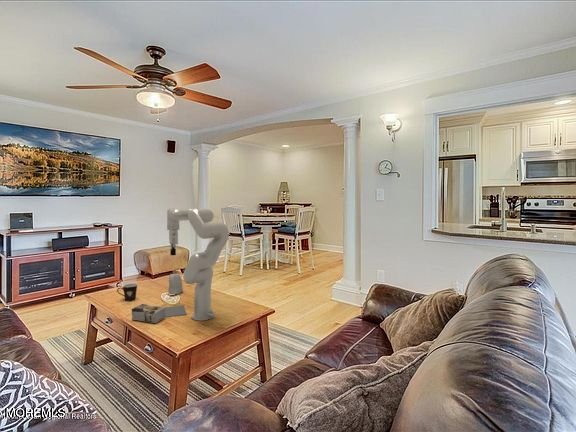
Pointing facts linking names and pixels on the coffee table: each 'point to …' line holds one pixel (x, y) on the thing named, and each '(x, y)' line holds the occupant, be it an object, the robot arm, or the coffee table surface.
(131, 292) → the coffee mug
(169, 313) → the mat
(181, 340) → the coffee table surface
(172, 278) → the decorative stone
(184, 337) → the coffee table surface
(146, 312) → the coffee box
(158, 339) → the coffee table surface
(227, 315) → the coffee table surface
